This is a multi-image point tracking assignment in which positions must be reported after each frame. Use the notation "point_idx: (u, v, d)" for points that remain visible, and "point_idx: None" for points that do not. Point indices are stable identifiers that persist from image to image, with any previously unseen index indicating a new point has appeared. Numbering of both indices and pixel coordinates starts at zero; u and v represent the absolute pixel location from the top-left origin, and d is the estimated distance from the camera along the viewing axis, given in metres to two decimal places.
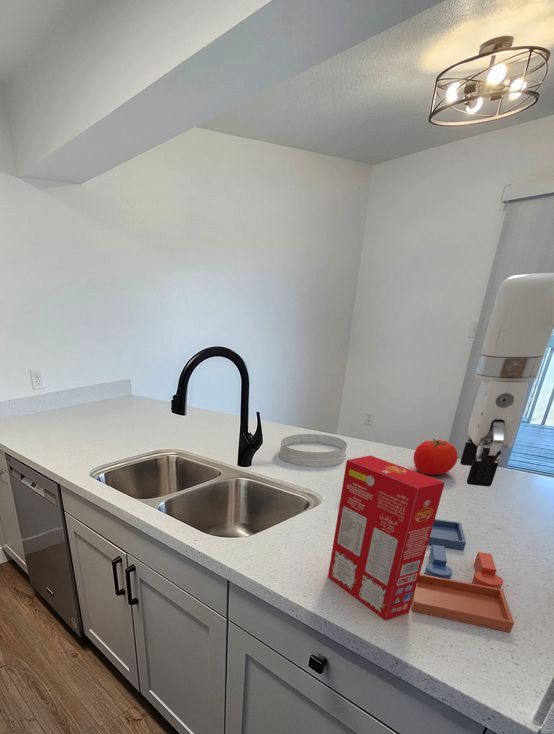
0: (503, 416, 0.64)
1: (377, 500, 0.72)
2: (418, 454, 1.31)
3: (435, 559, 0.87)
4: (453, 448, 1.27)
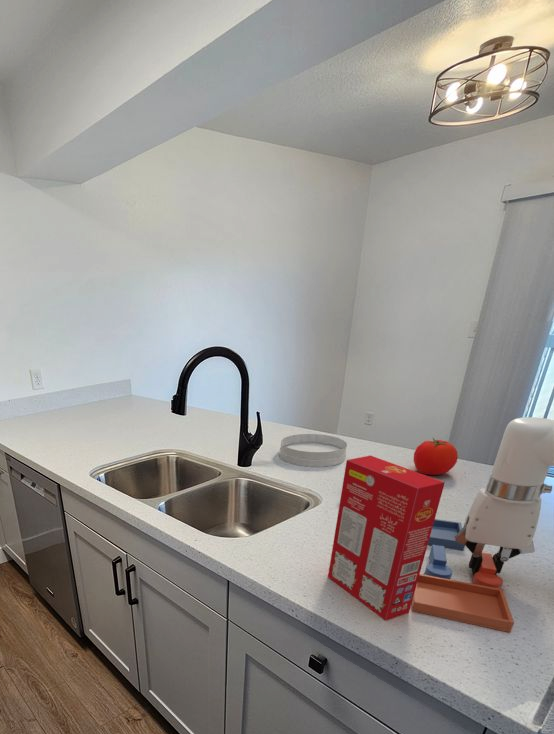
0: None
1: (377, 500, 0.72)
2: (418, 454, 1.31)
3: (435, 559, 0.87)
4: (453, 448, 1.27)
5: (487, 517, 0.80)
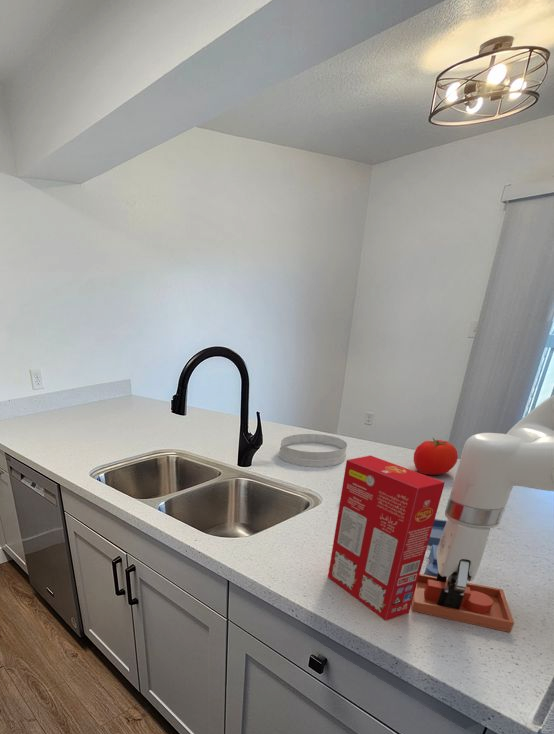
0: None
1: (377, 500, 0.72)
2: (418, 454, 1.31)
3: (435, 559, 0.87)
4: (453, 448, 1.27)
5: None
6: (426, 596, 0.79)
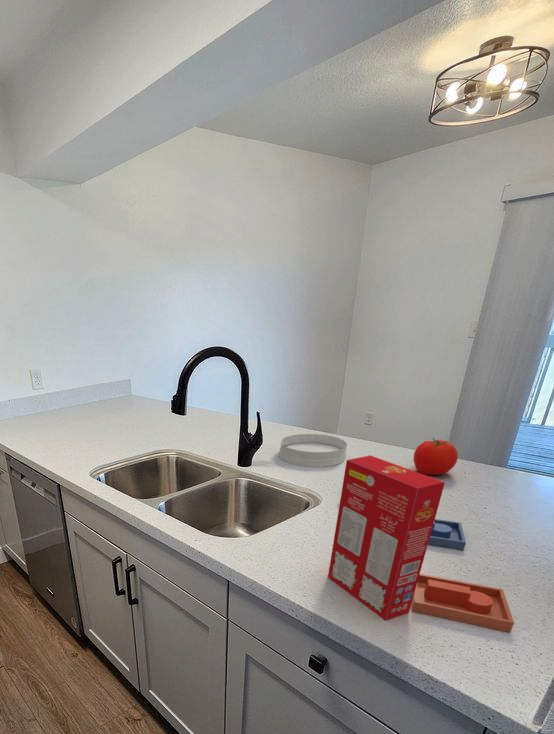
0: None
1: (377, 500, 0.72)
2: (418, 454, 1.31)
3: (434, 523, 0.99)
4: (453, 448, 1.27)
5: None
6: (426, 596, 0.79)
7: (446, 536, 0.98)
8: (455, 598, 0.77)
